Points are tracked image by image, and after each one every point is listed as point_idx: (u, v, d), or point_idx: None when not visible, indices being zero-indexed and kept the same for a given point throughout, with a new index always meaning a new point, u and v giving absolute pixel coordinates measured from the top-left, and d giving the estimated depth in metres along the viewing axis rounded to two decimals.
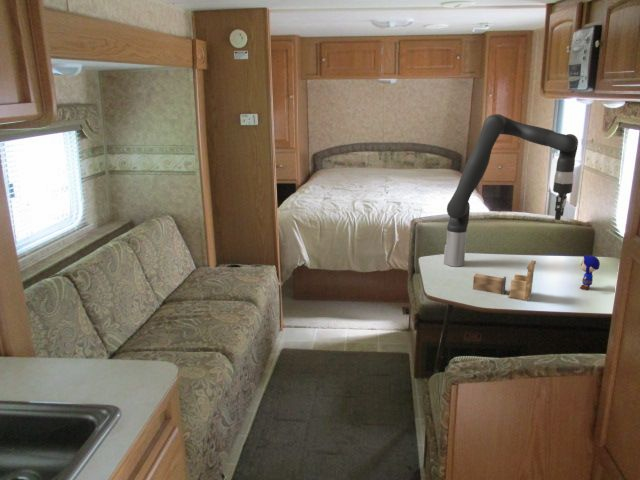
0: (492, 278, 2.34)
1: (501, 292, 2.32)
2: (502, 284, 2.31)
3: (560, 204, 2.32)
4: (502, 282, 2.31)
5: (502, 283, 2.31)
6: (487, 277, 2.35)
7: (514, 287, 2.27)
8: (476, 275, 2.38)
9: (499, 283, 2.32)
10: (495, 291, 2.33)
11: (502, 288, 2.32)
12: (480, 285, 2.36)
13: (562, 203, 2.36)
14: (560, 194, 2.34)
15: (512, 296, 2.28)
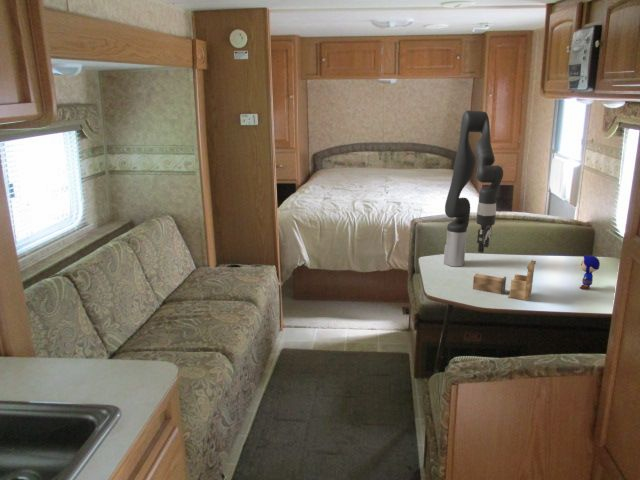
0: (492, 278, 2.34)
1: (501, 292, 2.32)
2: (502, 284, 2.31)
3: (482, 237, 2.25)
4: (502, 282, 2.31)
5: (502, 283, 2.31)
6: (487, 277, 2.35)
7: (514, 287, 2.27)
8: (476, 275, 2.38)
9: (499, 283, 2.32)
10: (495, 291, 2.33)
11: (502, 288, 2.32)
12: (480, 285, 2.36)
13: (485, 235, 2.29)
14: (482, 226, 2.27)
15: (512, 296, 2.28)
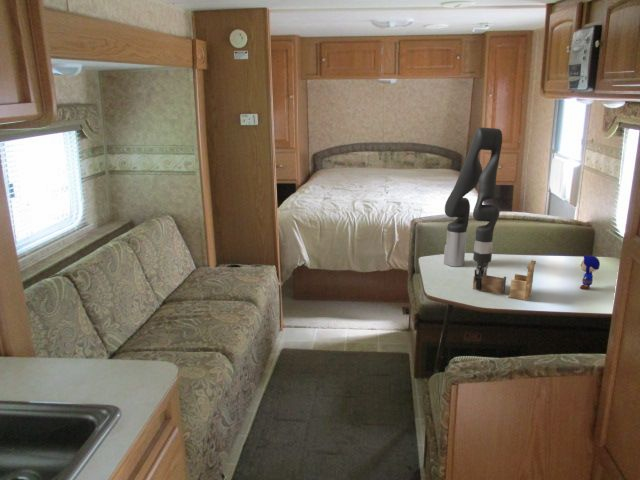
0: (492, 278, 2.34)
1: (501, 292, 2.32)
2: (502, 284, 2.31)
3: (479, 276, 2.31)
4: (502, 282, 2.31)
5: (502, 283, 2.31)
6: (487, 277, 2.35)
7: (514, 287, 2.27)
8: None
9: (499, 283, 2.32)
10: (495, 291, 2.33)
11: (502, 288, 2.32)
12: None
13: (482, 272, 2.34)
14: (479, 264, 2.32)
15: (512, 296, 2.28)
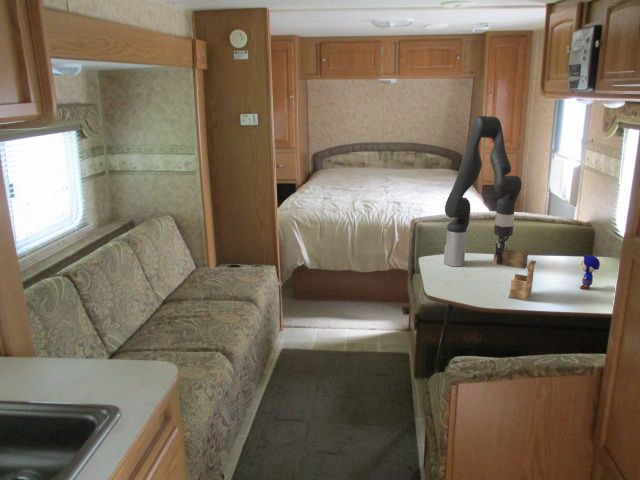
0: (514, 252, 2.27)
1: (523, 266, 2.25)
2: (524, 258, 2.24)
3: (500, 250, 2.24)
4: (524, 256, 2.24)
5: (524, 257, 2.24)
6: (508, 251, 2.28)
7: (514, 287, 2.27)
8: None
9: (521, 257, 2.24)
10: (517, 265, 2.26)
11: (524, 262, 2.24)
12: None
13: (503, 246, 2.27)
14: (500, 237, 2.25)
15: (512, 296, 2.28)
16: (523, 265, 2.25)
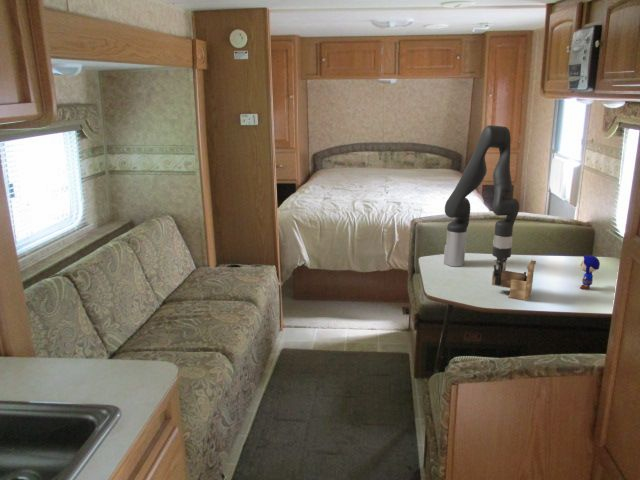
0: (512, 273, 2.29)
1: None
2: (522, 279, 2.27)
3: (498, 272, 2.27)
4: (522, 277, 2.26)
5: (522, 278, 2.26)
6: (506, 273, 2.30)
7: (514, 287, 2.27)
8: None
9: (519, 278, 2.27)
10: None
11: None
12: None
13: (501, 267, 2.29)
14: (498, 259, 2.27)
15: (512, 296, 2.28)
16: None
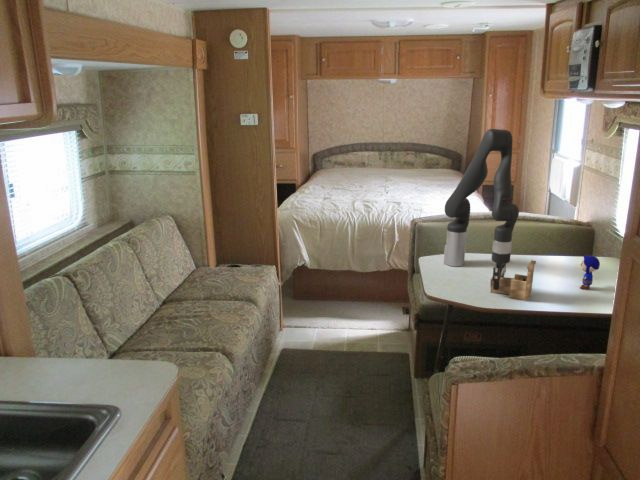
0: (509, 280, 2.30)
1: None
2: None
3: (497, 275, 2.26)
4: None
5: None
6: (504, 279, 2.32)
7: (514, 287, 2.27)
8: None
9: None
10: None
11: None
12: None
13: (500, 273, 2.30)
14: (498, 264, 2.28)
15: (512, 296, 2.28)
16: None
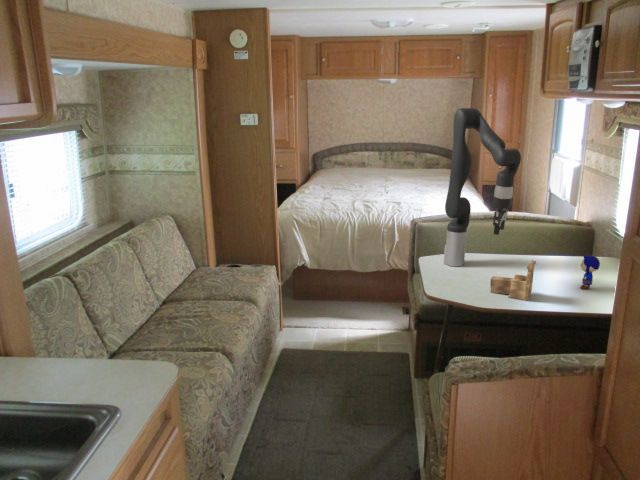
0: (509, 280, 2.30)
1: None
2: None
3: (498, 219, 2.30)
4: None
5: None
6: (504, 279, 2.32)
7: (514, 287, 2.27)
8: (493, 278, 2.34)
9: None
10: None
11: None
12: (498, 288, 2.33)
13: (501, 218, 2.34)
14: (499, 209, 2.32)
15: (512, 296, 2.28)
16: None
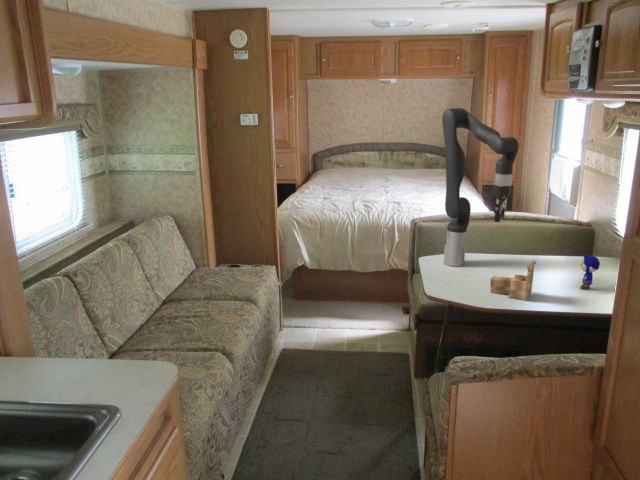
0: (509, 280, 2.30)
1: None
2: None
3: (498, 206, 2.34)
4: None
5: None
6: (504, 279, 2.32)
7: (514, 287, 2.27)
8: (493, 278, 2.34)
9: None
10: None
11: None
12: (498, 288, 2.33)
13: (501, 205, 2.38)
14: (499, 196, 2.36)
15: (512, 296, 2.28)
16: None
